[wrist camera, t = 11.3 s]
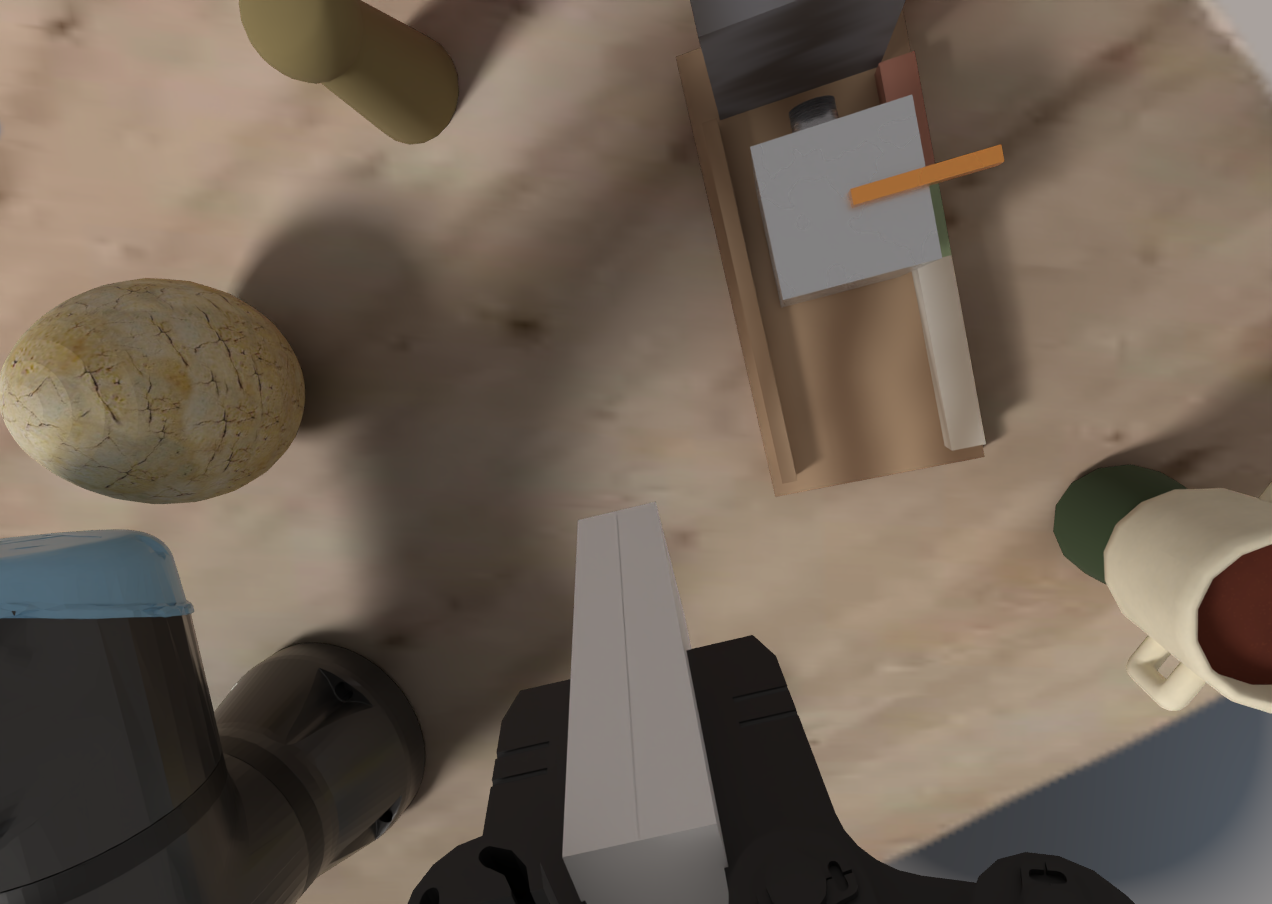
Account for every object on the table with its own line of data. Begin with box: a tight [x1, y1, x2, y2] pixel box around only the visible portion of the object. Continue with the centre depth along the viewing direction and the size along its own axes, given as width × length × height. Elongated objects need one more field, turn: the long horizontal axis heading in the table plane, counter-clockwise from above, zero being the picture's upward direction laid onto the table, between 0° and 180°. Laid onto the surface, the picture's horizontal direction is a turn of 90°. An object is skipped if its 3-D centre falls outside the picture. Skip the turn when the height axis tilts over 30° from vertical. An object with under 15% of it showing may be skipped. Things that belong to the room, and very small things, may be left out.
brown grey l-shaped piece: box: [676, 0, 986, 497], centre depth 30 cm, size 11×24×12 cm, turn 14°
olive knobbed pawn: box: [239, 0, 459, 144], centre depth 33 cm, size 6×6×11 cm
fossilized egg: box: [0, 278, 305, 504], centre depth 37 cm, size 13×13×15 cm
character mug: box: [1053, 464, 1272, 713], centre depth 29 cm, size 11×7×13 cm, turn 153°
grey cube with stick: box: [750, 95, 1004, 308], centre depth 29 cm, size 8×8×10 cm
